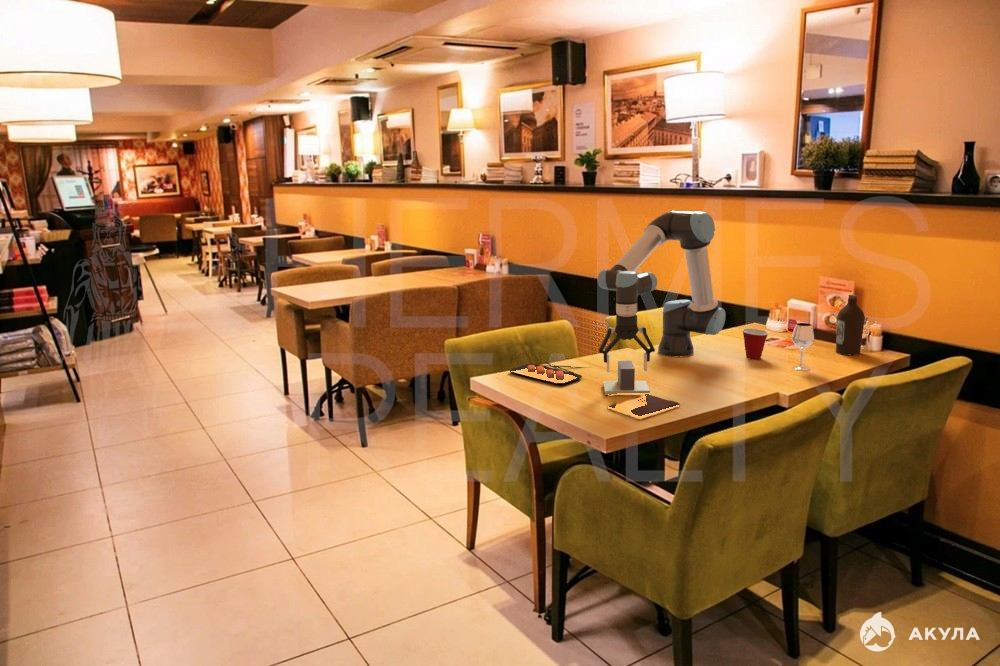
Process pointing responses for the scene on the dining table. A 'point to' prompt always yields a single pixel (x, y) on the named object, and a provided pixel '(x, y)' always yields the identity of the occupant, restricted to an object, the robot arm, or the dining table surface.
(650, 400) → the notebook
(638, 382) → the board
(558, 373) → the sushi plate
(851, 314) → the olive oil
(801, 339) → the wineglass
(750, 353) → the plastic cup
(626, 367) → the block
